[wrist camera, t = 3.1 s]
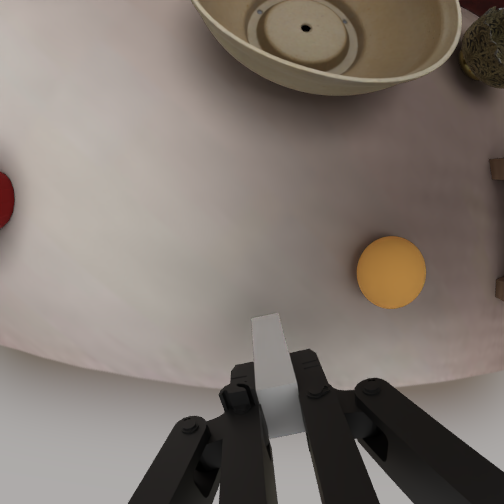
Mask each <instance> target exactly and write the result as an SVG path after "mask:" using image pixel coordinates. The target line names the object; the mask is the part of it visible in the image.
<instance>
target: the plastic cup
mask: <svg viewBox="0 0 504 504" xmlns="http://www.w3.org/2000/svg"><path fill="white" fill-rule="evenodd" d="M13 207H14V190H13V187H12V184H11V181H10V179H9V178H8V177H7V176H6V175H5V174H4V173H2V172H0V229H1V228H2V227H3V226H4V225H5V224H6V223H7V222H8V221H9V219H10V217H11V215H12V213H13Z"/></svg>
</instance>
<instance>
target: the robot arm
mask: <svg viewBox="0 0 504 504" xmlns="http://www.w3.org/2000/svg"><path fill="white" fill-rule="evenodd" d="M251 322H252V338H253V354H254V362H249V363H244V364H239V365H235V367H234V368H233V370H232V371H231V381H230V384H229V385H227V386H225V387H224V388H223V389H222V390H221V391H220V393H219V397H220V400H221V402H222V405H223V408H224V411H225V412H224V414H222V415H221V416H219V417H217V418H215V419H212V420H209V421H205V419H203V418H202V417H199V416H189V417H186V418H183V419H182V420H180V421H178V422H177V424H176V425H175V426H174V428H173V429H172V431H171V433H170V434H169V436H168V438H167V439H166V441H165V443H164V444H163V446H162V448H161V449H160V451H159V453H158V455H157V456H156V458H155V460H154V461H153V463H152V465H151V466H150V468H149V469H148V471H147V473H146V474H145V476H144V478H143V480H142V481H141V483H140V484H139V486H138V488H137V489H136V491H135V492H134V494H133V496H132V497H131V499H130V501H129V502H128V504H212V503H213V500H214V497H215V495H216V492H217V490H218V487H219V484H220V495H219V504H278V501H277V492H276V484H275V475H274V466H273V457H272V448H271V445H270V441H269V438H270V439H271V438H277V437H282V436H287V435H292V434H297V433H301V432H306V436H307V442H308V447H309V451H310V454H311V458H312V462H313V467H314V471H315V475H316V479H317V484H318V488H319V493H320V497H321V501H322V504H380V503H379V500H378V498H377V496H376V493H375V490H374V488H373V485H372V483H371V480H370V477H369V475H368V473H367V470H366V467H365V465H364V462H363V460H362V457H361V455H360V452H359V450H358V447H357V445H356V442H355V440H354V439H357V440H358V442H359V443H360V444H361V445H362V446H363V447H364V449H365V450H366V451H367V452H368V453H369V454H370V456H371V457H372V458H373V459H374V460H375V461H376V462H377V463H378V465H379V466H380V467H381V468H382V469H383V470H384V471H385V472H386V473H387V475H388V476H389V477H390V478H391V479H392V480H393V481H394V482H395V483H396V484H397V486H398V487H399V488H400V489H401V490H402V491H403V492H404V493H405V494H406V495H407V496H408V498H409V499H410V500H411V501H412V502H413V503H414V504H504V472H503V471H501V470H500V469H499V468H497V467H496V466H495V465H494V464H492V463H491V462H490V461H488V460H487V459H486V458H484V457H483V456H482V455H480V454H479V453H478V452H476V451H475V450H474V449H472V448H471V447H469V445H467V444H466V443H465V442H463V441H462V440H461V439H459V438H458V437H457V436H456V435H454V434H453V433H452V432H450V431H449V430H448V429H446V428H445V427H444V426H443V425H441V424H440V423H439V422H437V421H436V420H435V419H433V418H432V417H431V416H430V415H428V414H427V413H426V412H425V411H423V410H422V409H421V408H419V407H418V406H417V405H416V404H414V403H413V402H412V401H411V400H409V399H408V398H407V397H405V396H404V395H403V394H402V393H400V392H399V391H398V390H397V389H395V388H394V387H393V386H392V385H390V384H389V383H388V382H387V381H385V380H383V379H379V378H369V379H366V380H363V381H361V382H360V383H358V384H357V386H356V387H355V390H348V391H344V390H337V389H334V388H333V387H332V386H331V385H330V384H328V382H327V379H326V377H325V374H324V372H323V369H322V367H321V365H320V362H319V360H318V357H317V355H316V353H315V352H313V351H312V350H310V349H306V350H302V351H297V352H293V353H289V351H288V347H287V343H286V340H285V336H284V332H283V328H282V325H281V321H280V317H279V313H273V314H269V315H264V316H260V317H255V318H251Z"/></svg>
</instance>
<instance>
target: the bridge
mask: <svg viewBox="0 0 504 504" xmlns="http://www.w3.org/2000/svg"><path fill="white" fill-rule="evenodd" d="M489 161H490V168H491V175H492V179H494V180H504V158H497V159H489ZM495 297H497V298H499V299H501V300H502V301H504V277H501V278H499V279H496V295H495Z"/></svg>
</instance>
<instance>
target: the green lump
mask: <svg viewBox="0 0 504 504" xmlns="http://www.w3.org/2000/svg"><path fill="white" fill-rule="evenodd" d="M495 9H496V7H492V8H489V10H488V11H487V12H486V13H484V14H483V15H482V16H481V17H480V18H479V19H477V20H476V21H475V22H474V23H473V24H472V25H471V26H470V27H469V28H468V30H467V31H466V32H465V34H464V36H463V39H462V49H461V51H460V53H459V56H458V59H459V64H460V66H461V68H462V70H463V71H464V73H465V74H466V75H467V76H468V77H470V78H471V79H473V80H477V81H482V82H483V83H485V84H487V85H489V86H491V87H495V88H504V13H503V12H504V8H498V9H497V10H495Z"/></svg>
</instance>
